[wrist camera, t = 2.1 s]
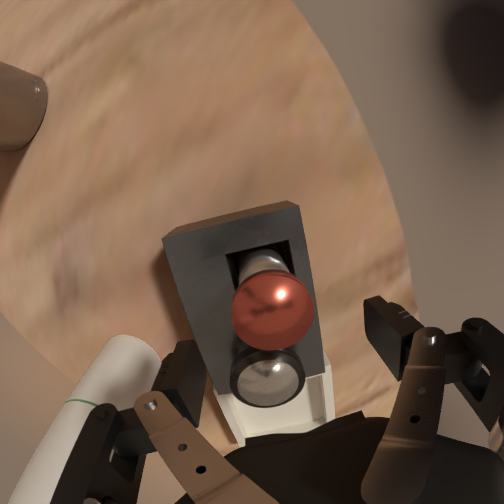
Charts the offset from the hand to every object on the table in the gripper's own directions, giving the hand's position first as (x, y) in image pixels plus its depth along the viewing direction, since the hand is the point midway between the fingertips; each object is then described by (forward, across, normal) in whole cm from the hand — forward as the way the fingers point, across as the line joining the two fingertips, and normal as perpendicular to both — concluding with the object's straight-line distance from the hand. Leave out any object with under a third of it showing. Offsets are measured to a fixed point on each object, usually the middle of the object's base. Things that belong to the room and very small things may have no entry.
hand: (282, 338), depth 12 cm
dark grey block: (+13, +2, +3) cm, 14 cm away
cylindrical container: (+14, +17, +8) cm, 23 cm away
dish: (+14, +2, +17) cm, 22 cm away
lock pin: (+13, 0, 0) cm, 13 cm away
